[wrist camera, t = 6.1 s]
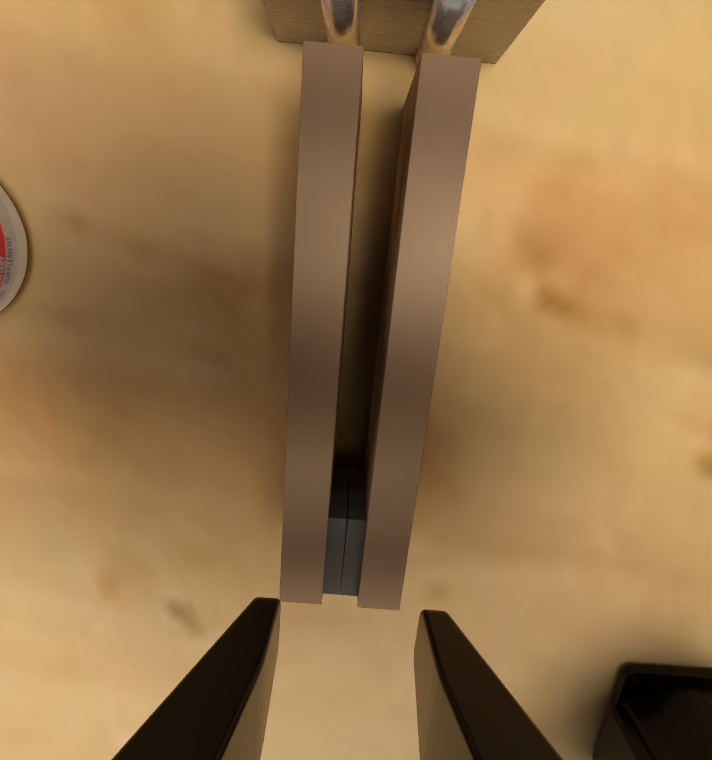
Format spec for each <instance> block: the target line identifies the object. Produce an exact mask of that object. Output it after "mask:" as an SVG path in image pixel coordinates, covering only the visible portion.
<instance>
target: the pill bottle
mask: <svg viewBox="0 0 712 760" xmlns="http://www.w3.org/2000/svg"><path fill="white" fill-rule="evenodd" d="M26 266H27V239H26V234H25V230H24V227H23V224H22V221H21V219H20V217H19V214H18V212H17V210H16V208H15V206H14V204H13V203H12V201H11V200H10V198H9V197H8V195H7V194H6V192H5V191H4V190H3V189H2V187H1V186H0V311H1V310H2V309H4V308H5V307H6V306H7V305H8V304H9V303H10V302H11V300H12V299H13V298H14V297H15V295H16V293H17V292H18V290H19V288H20V286H21V284H22V281H23V279H24V276H25V272H26Z"/></svg>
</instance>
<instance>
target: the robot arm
mask: <svg viewBox="0 0 712 760" xmlns="http://www.w3.org/2000/svg"><path fill="white" fill-rule="evenodd" d="M280 609H281V603H280V601H279V599H277V598H264V597H257V598H255V599H254V600H253V601H252V602H251V603H250V604H249V605H248V606H247V608H246V609H245V610H244V611H243V612H242V613H241V614H240V615H239V617H238V618H237V619H236V620H235V621H234V622H233V623H232V624H231V626H230V627H229V628H228V629H227V630H226V631H225V632H224V633H223V635H222V636H221V637H220V638H219V639H218V640H217V641H216V642H215V644H214V645H213V646H212V647H211V648H210V649H209V650H208V651H207V653H206V654H205V655H204V656H203V657H202V658H201V659H200V660H199V662H198V663H197V664H196V665H195V666H194V667H193V668H192V670H191V671H190V672H189V673H188V674H187V675H186V676H185V677H184V679H183V680H182V681H181V682H180V683H179V684H178V685H177V686H176V688H175V689H174V690H173V691H172V692H171V693H170V694H169V695H168V697H167V698H166V699H165V700H164V701H163V702H162V703H161V704H160V706H159V707H158V708H157V709H156V710H155V711H154V712H153V713H152V715H151V716H150V717H149V718H148V719H147V720H146V721H145V722H144V724H143V725H142V726H141V727H140V728H139V729H138V730H137V731H136V733H135V734H134V735H133V736H132V737H131V738H130V739H129V741H128V742H127V743H126V744H125V745H124V746H123V747H122V748H121V750H120V751H119V752H118V753H117V754H116V755H115V756H114V757H113V759H112V760H260V757H261V752H262V746H263V741H264V735H265V728H266V722H267V716H268V710H269V703H270V697H271V691H272V684H273V678H274V672H275V665H276V659H277V653H278V645H279V629H280ZM414 671H415V687H416V703H417V719H418V735H419V751H420V760H563V759H562V758H561V757H560V756H559V754H558V753H557V752H556V750H555V749H554V748H553V747H552V745H551V744H550V743H549V742H548V740H547V739H546V738H545V736H544V735H543V734H542V733H541V731H540V730H539V729H538V728H537V726H536V725H535V724H534V722H533V721H532V720H531V719H530V717H529V716H528V715H527V714H526V712H525V711H524V710H523V708H522V707H521V706H520V705H519V703H518V702H517V701H516V700H515V698H514V697H513V696H512V694H511V693H510V692H509V691H508V689H507V688H506V687H505V686H504V684H503V683H502V682H501V680H500V679H499V678H498V677H497V675H496V674H495V673H494V672H493V670H492V669H491V668H490V666H489V665H488V664H487V663H486V661H485V660H484V659H483V658H482V656H481V655H480V654H479V652H478V651H477V650H476V649H475V647H474V646H473V645H472V644H471V642H470V641H469V640H468V638H467V637H466V636H465V635H464V633H463V632H462V631H461V630H460V628H459V627H458V626H457V624H456V623H455V622H454V621H453V619H452V618H451V617H450V616H449V614H448V613H446V612H445V611H438V610H423V611H422V612H421V613H420V617H419V623H418V629H417V635H416V642H415V648H414ZM593 760H712V671H705V670H691V669H678V668H664V667H651V666H637V665H630V666H627V667H625V668H623V669H622V671H621V672H620V675H619V678H618V681H617V684H616V687H615V690H614V693H613V696H612V699H611V702H610V705H609V708H608V711H607V714H606V717H605V720H604V723H603V726H602V729H601V732H600V735H599V738H598V741H597V744H596V747H595V750H594V753H593Z"/></svg>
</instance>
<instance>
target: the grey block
mask: <svg viewBox="0 0 712 760" xmlns="http://www.w3.org/2000/svg"><path fill="white" fill-rule="evenodd" d="M544 1H545V0H262V2H263V4H264V7H265V10H266V12H267V15H268V17H269V20H270V22H271V25H272V27H273V30H274V32H275V35H276V37H277V40H278V41H281V42H291V43H301V44H303V41H313V42H324V43H334V44H345V45H355V46H363V50H369V51H379V52H388V53H398V54H408V55H416V56H415V59H416V64H417V66H418V63H419V60H420V58H421V55H422V52H423V53H432V54H442V55H451V56H460V57H469V58H479V59H481V62H486V63H495V64H496V63H497V61H498V60H499V59H500V58H501V56H502V55H503V54H504V52H505V51H506V50H507V49H508V47H509V46H510V45H511V43H512V42H513V41H514V40H515V38H516V37H517V36H518V34H519V33H520V32H521V31H522V29H523V28H524V27H525V25H526V24H527V23H528V22H529V20H530V19H531V18H532V16H533V15H534V14H535V13H536V11H537V10H538V9H539V7H540V6H541V5H542V4H543V2H544Z"/></svg>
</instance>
